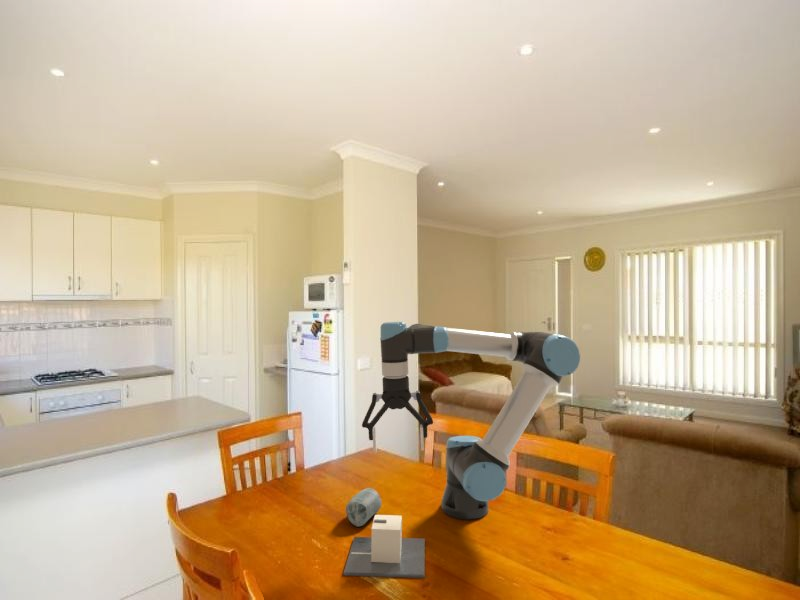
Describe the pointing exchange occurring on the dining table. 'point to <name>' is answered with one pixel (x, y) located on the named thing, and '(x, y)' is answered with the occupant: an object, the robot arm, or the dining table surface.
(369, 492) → the spool
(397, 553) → the white drawer box
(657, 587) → the dining table surface
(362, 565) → the gray board
